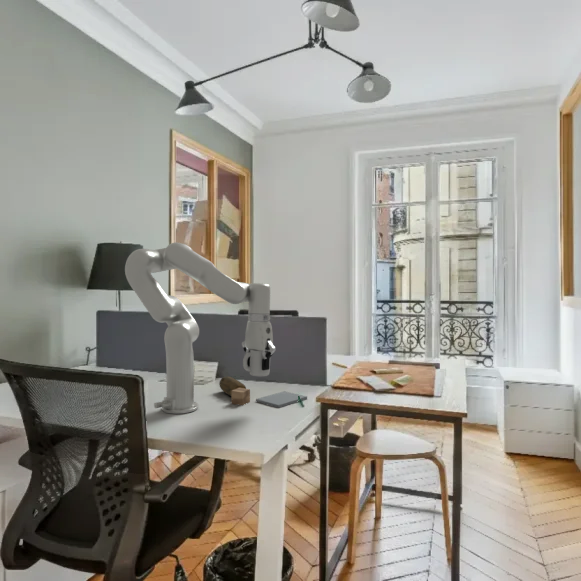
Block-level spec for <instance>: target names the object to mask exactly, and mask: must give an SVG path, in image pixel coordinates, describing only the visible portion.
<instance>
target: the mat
mask: <svg viewBox="0 0 581 581" xmlns="http://www.w3.org/2000/svg"><path fill="white" fill-rule="evenodd" d="M298 396H300V399H301V400H302V401H305V400H308V396H307V395H302V394H297V393H293V392H290V391H289V392H288V391H285V390H284V391H281V392H277V393H273V394H270V395H266V396H262V397H259V398H256V399H255V402H256V401H257V402H256V403H259V402H260V403H259V404H263V403H264V404H263V405H267V404H268V405H267V406H270V405H271V406H270V407H274V408H278V409H279V408H284V407H286V406H289V405H292V404H296V403H298V402H297V401H298Z"/></svg>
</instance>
